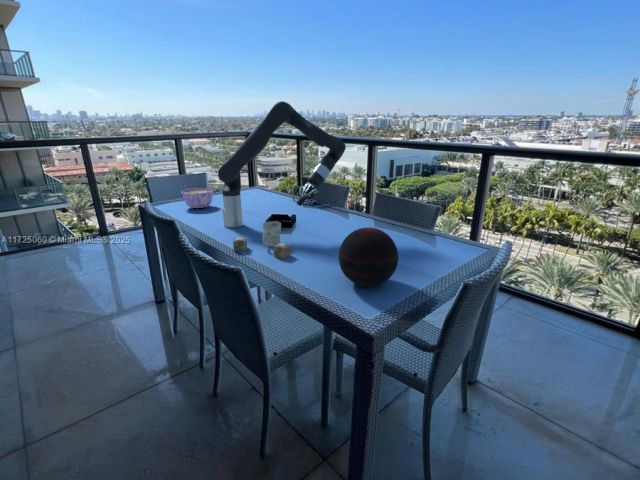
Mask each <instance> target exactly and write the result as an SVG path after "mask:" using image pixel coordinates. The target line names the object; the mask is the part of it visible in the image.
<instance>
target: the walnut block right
mask: <svg viewBox="0 0 640 480" xmlns="http://www.w3.org/2000/svg"><path fill="white" fill-rule="evenodd" d="M291 248H292V247H291V244H290V243H284V242H280V243H279V244H277V245H275V246H274V247H273V254H274V255H273V256H274V258H277V259H281V260H286V259H287V258H289V257H291V256H292V249H291Z"/></svg>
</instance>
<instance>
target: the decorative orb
mask: <svg viewBox="0 0 640 480" xmlns="http://www.w3.org/2000/svg"><path fill="white" fill-rule="evenodd" d="M398 264H399V251H398V248H397V245H396V243H395V241H394V240H393V239H392V237H391V236H390V235H389V234H388V233H386V232H385V231H384V230H381V229H379V228H375V227H362V228H358V229H355V230H353V231H352V232H350V233H349V234H348V235H346V237H344V240H343V241H342V243H341V244H340V247H339V251H338V265H339V267H340V269H341V271H342V273H343V275H344V276H345V277H346V278H347V279H348V280H349V281H350V282H352V283H353V284H356V285H358V286H359V287H360V286H361V287H366V288H368V287H370V288H371V287H377V286H379V285H383V284H384V283H386V282H387V281H388V280H389V279H390V278H391V277H392V276H393V275H394V273H395V272H396V269H397V267H398Z"/></svg>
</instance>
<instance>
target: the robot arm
mask: <svg viewBox="0 0 640 480" xmlns="http://www.w3.org/2000/svg"><path fill="white" fill-rule="evenodd" d="M284 123H285V124H288V125H290V126H292V127H293V128H295V129H297V130H299V132H301V133H302V134H303V135H304V136H305V137H307V139H309V140H310V141H311V142H313V143H314V144H316V145H317V146H319V147H321V148H324V147H326V148H328V150H327V153H326V154H324V156H323V157H322V158H321V159H320V160H319V162H318V164H316V165H315V166H314V169H312V171H311V172H310V173H311V174H310V175H308V177H306V178H307V180H308V182H307V183H306V184H305V186H303V187H302V185H300V189H298V195H299V199H298V200H297V203H296V205H297V206H299V207H302V206H303V205H302V204H305V201H309V199H311V200H312V198H314V197H316V196H317V195H319V192H318V189H321V187H322V186H323V185H324V183H325V182H326V180H327V179H328V177H329V176H330V173H331V172H332V170H333V169H334V167H335V165H336V164H337V163H338V161H340V159H341V158H342V157H343V155H344V154H345V152H346V150H347V149H346V147H347V146H346V143H345V142H344V141H343V140H342V139H341V138H339V137H336V136H335V135H332V134H329V133H328V132H326V131H324V130H323V129H322V128H320V127H318V126H317V125H316V124H315V123H312V122H311V121H309V120H308V119H306V118H305V117H303V116H302V115H301V114H300V113H299V112H298V111H297V110H296V109H295V108H294V107H293V106H292V105H291V104H290V103H288V102H286V101H278V102H276V103H275V104H273V106H272V107H271V108H270V110H269V112H268V113H267V115H266V116H265V118H264V119H263V120H262V121H261V123H260V122H259V124H258V125H257V127H255V128H254V129H253V130H252V131H251V133H250V134H249V135H248V136H247V137H246V138H245V139H244V140H243V142H242V143H241V144H240V145H239V147H238V148H237V150H236V151H235V152H234V153H233V155H232V156H231V157H230V158H229V159H227V161H226V162H225V163H224V164H222V165H221V166H220V168H219V169H218V172H217V177H218V179H219V181H221V182H222V183H223V184H224V185H223V188H222V190H221V193H222V202H223V208H222V216H223V217H222V219H223V226H224V227H226V228H230V229H231V228H239V227H243V225H244V221H243V219H244V218H243V211H242V210H243V208H242V199H241V198H242V196H241V189H242V180H241V178H242V177H241V170H242V169H243V167H245V166H246V165H247V164H248V163H250V162H251V161H252V160H253V159H255V158H256V157H257V156H258V155H259V154H260V153H261V152H262V151H264V149H265V148H266V146H267V145H268V143H269V142H270V139H271V137H272V136H273V134H274V133H275V131H276V130H278V128H279V127H281V126H282V125H283V124H284ZM307 199H308V200H307Z"/></svg>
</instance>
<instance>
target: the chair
mask: <svg viewBox="0 0 640 480" xmlns="http://www.w3.org/2000/svg"><path fill="white" fill-rule="evenodd" d="M310 174H311V172H307V173H302V175H301V185H300V186H302V187H303V186H305V184H306V183H307V182H308V180H307V178H308V177H305V176H309V175H310ZM300 186H299V185H298V186H297V185H294V186H293V187H292V190H291V191H292V193H291V195H292V201H293V202H294V201H295V202H297V201H298V200H297V201H296V200H295V189H296V190H299V189H300ZM309 200H312V201H311V202H312V203H303V204H304V205H309V206H311V205H310V204H313V203H314V202H313V201H315V200H314V199H312V198H311V199H309ZM309 200H308V201H309ZM295 202H294V203H295ZM304 205H303V206H304Z"/></svg>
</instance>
